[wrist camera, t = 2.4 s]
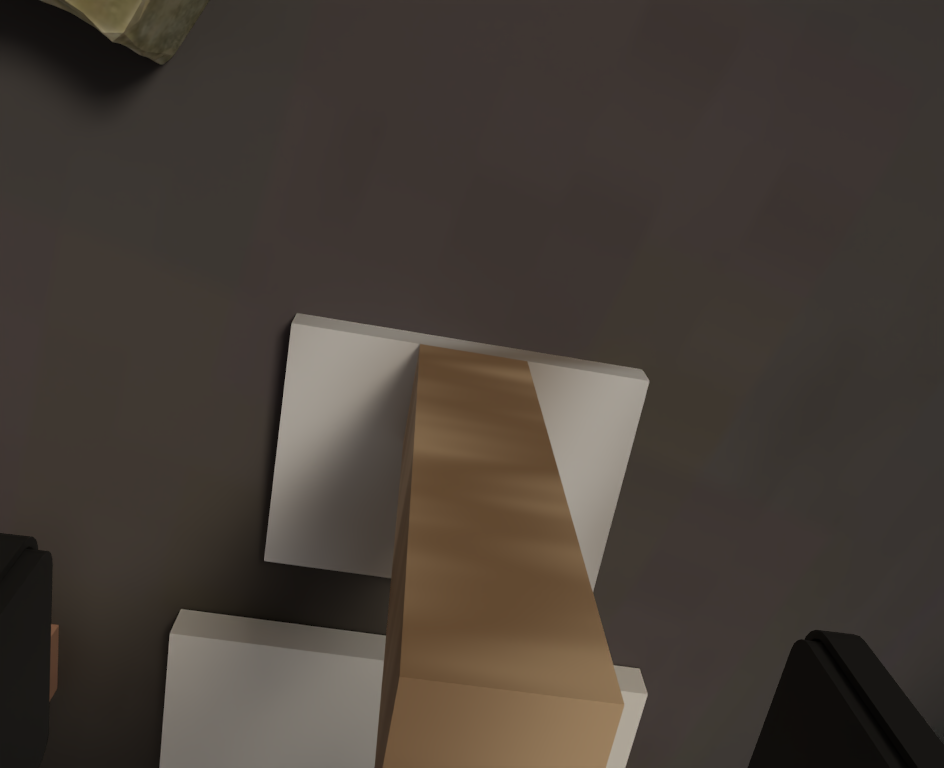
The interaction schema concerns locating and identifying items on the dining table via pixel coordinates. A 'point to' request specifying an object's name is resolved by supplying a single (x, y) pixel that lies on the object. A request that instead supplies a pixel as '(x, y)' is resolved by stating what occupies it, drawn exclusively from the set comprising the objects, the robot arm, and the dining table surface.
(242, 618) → the mat
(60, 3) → the mineral wool slab
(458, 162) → the dining table surface
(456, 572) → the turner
